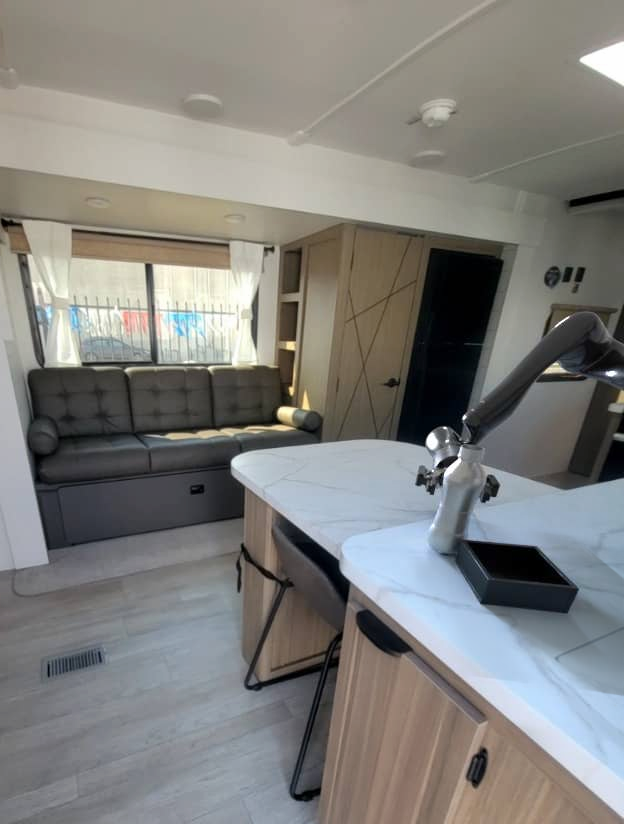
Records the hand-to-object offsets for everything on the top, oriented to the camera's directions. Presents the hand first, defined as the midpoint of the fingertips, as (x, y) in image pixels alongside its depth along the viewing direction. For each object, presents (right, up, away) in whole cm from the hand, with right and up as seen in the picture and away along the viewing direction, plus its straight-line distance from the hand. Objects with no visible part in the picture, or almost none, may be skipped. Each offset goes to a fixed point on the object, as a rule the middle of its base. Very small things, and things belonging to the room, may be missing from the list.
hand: (458, 494), depth 73 cm
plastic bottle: (-1, -11, +4) cm, 11 cm away
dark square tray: (+5, -15, -6) cm, 17 cm away
